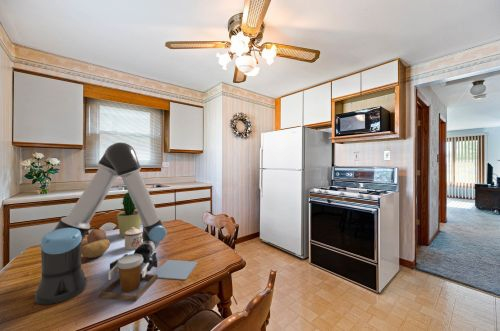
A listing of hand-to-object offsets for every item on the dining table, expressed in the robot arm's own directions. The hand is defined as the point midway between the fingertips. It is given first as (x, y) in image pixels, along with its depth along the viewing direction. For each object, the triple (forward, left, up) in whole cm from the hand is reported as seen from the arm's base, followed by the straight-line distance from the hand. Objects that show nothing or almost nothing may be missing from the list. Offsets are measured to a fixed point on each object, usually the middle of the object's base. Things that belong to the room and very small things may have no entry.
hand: (126, 275), depth 83 cm
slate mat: (+11, +20, -7) cm, 24 cm away
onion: (-50, +43, -7) cm, 66 cm away
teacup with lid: (-25, +43, -7) cm, 50 cm away
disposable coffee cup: (-1, +4, -7) cm, 8 cm away
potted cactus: (-41, +61, -7) cm, 74 cm away
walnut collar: (-1, +4, -7) cm, 8 cm away
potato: (-37, +28, -7) cm, 47 cm away
